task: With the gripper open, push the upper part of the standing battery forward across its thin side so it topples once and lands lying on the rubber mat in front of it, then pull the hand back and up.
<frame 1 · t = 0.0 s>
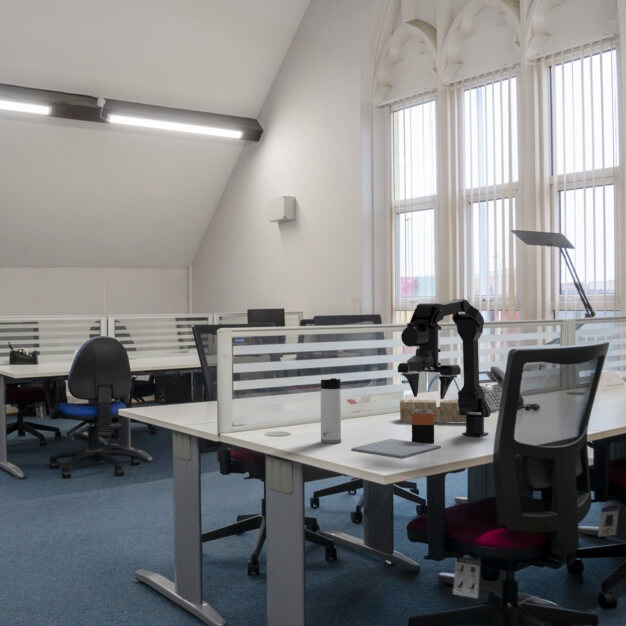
hand: (428, 397, 217), 15 cm above the table, fingers open, 9 cm apart
mat: (396, 448, 215), on the table
travel mug: (331, 442, 227), on the table
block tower: (439, 422, 268), on the table
battery: (423, 442, 226), on the table
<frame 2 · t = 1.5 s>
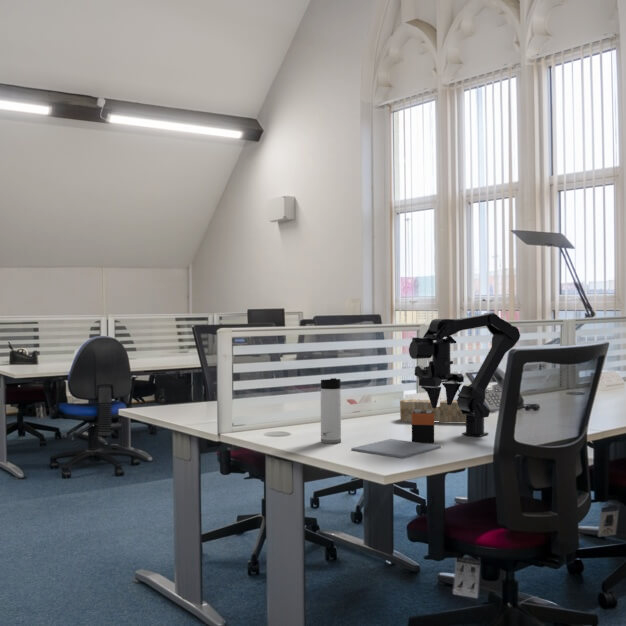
hand: (441, 406, 234), 10 cm above the table, fingers open, 9 cm apart
nothing on the table moved.
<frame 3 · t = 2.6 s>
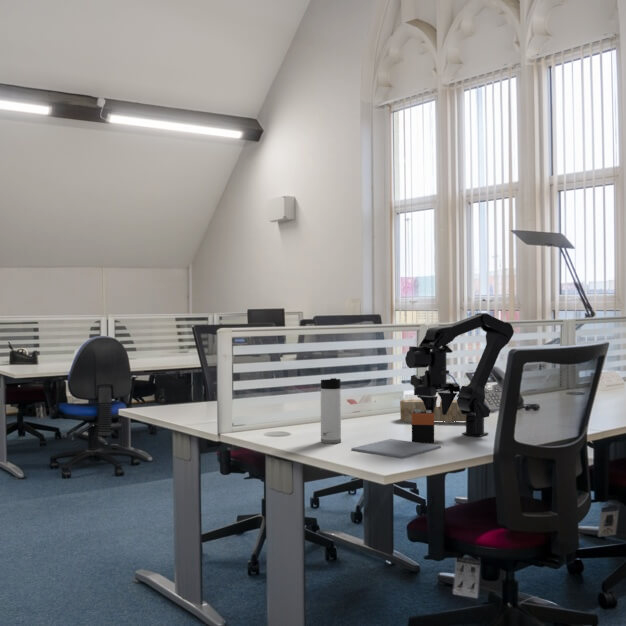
hand: (437, 416, 233), 7 cm above the table, fingers open, 8 cm apart
battery: (423, 442, 226), on the table, touching gripper
everything else where it was.
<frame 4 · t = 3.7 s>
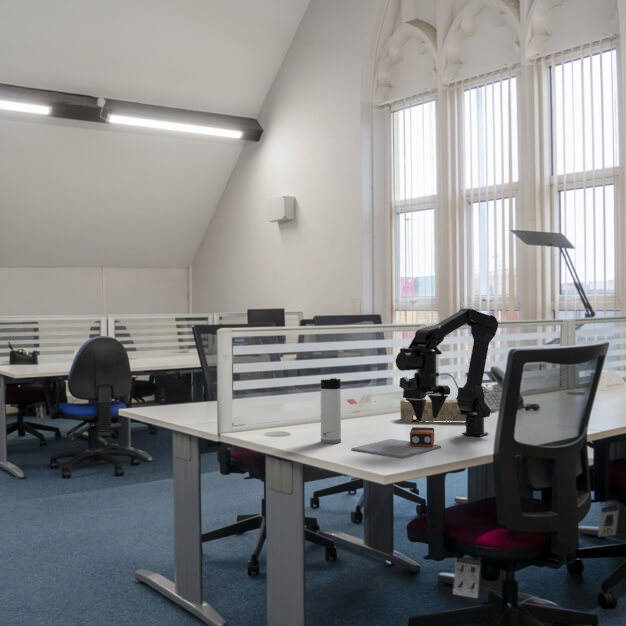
hand: (427, 419, 228), 7 cm above the table, fingers open, 9 cm apart
battery: (423, 434, 224), point 3 cm above the table, touching mat
everything else where it was.
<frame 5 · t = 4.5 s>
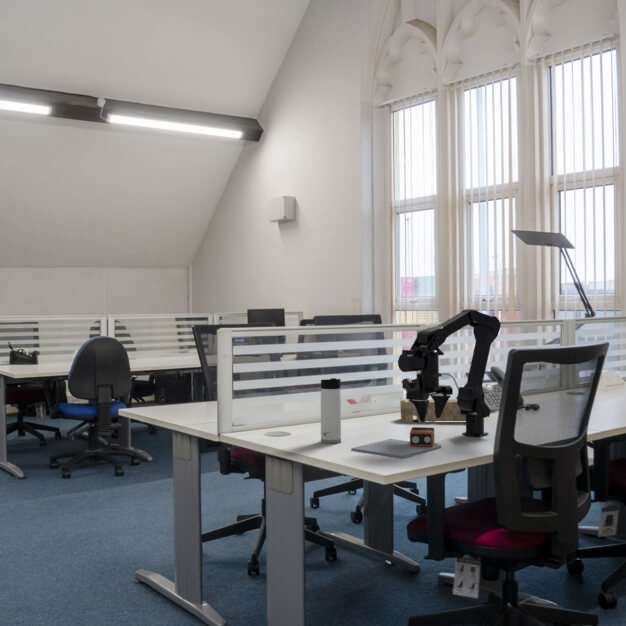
hand: (430, 419, 229), 6 cm above the table, fingers open, 9 cm apart
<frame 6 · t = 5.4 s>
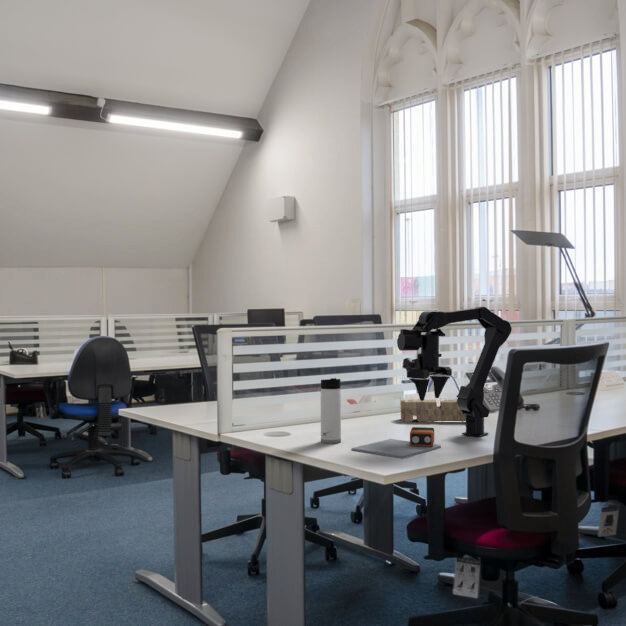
hand: (429, 399, 234), 12 cm above the table, fingers open, 9 cm apart
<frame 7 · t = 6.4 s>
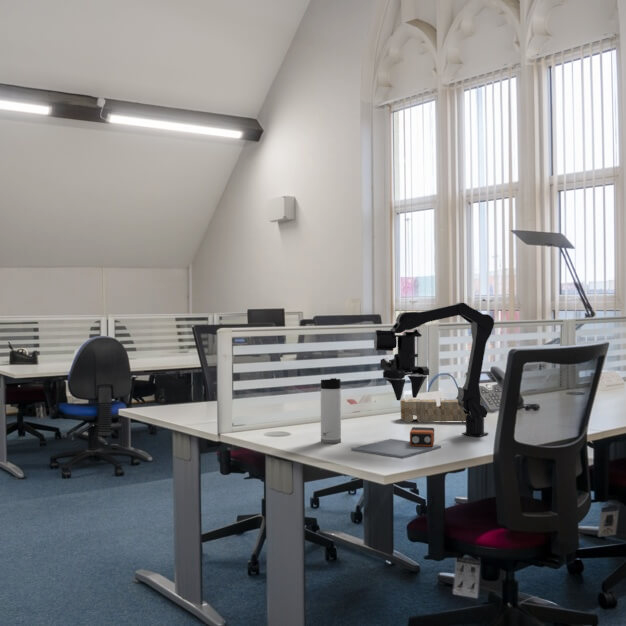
hand: (406, 398, 237), 12 cm above the table, fingers open, 9 cm apart
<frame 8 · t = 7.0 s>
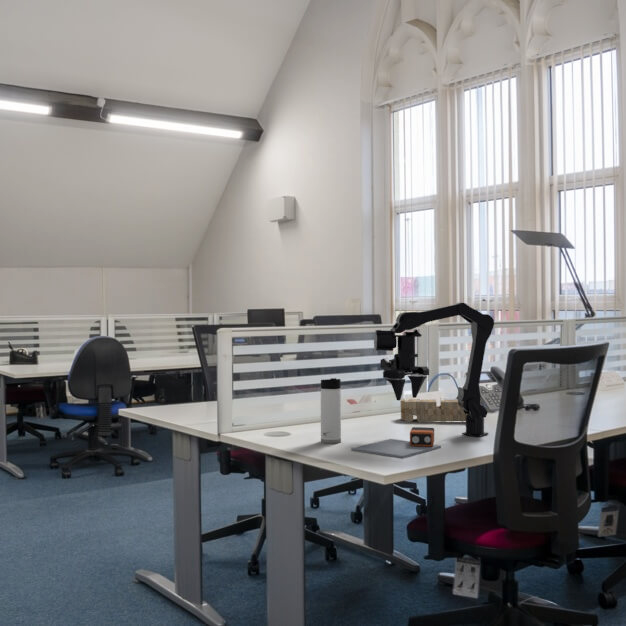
hand: (406, 398, 237), 12 cm above the table, fingers open, 9 cm apart
at the end: battery tilted 90°; battery touching mat; the gripper is holding nothing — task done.
